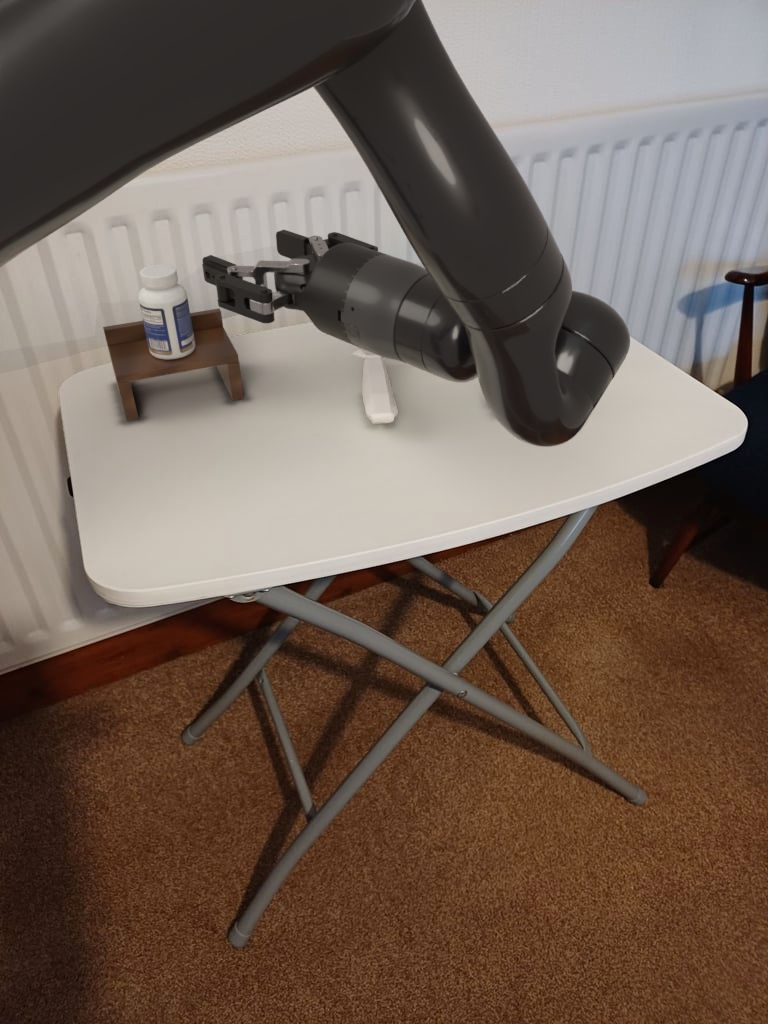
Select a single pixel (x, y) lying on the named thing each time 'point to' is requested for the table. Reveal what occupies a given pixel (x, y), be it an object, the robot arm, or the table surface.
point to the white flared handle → (376, 388)
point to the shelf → (139, 363)
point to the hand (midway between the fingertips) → (244, 253)
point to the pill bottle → (165, 313)
